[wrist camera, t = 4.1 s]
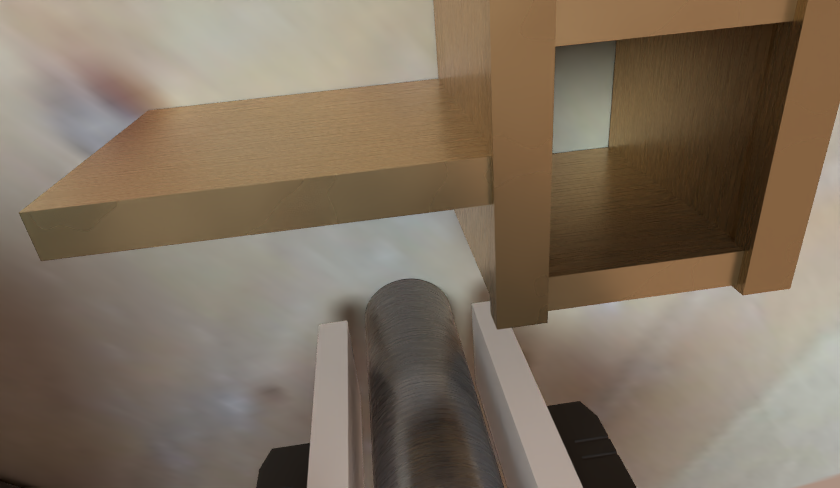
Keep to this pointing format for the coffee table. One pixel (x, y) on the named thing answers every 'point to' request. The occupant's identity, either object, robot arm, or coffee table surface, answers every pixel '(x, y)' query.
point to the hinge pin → (423, 394)
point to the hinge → (510, 154)
